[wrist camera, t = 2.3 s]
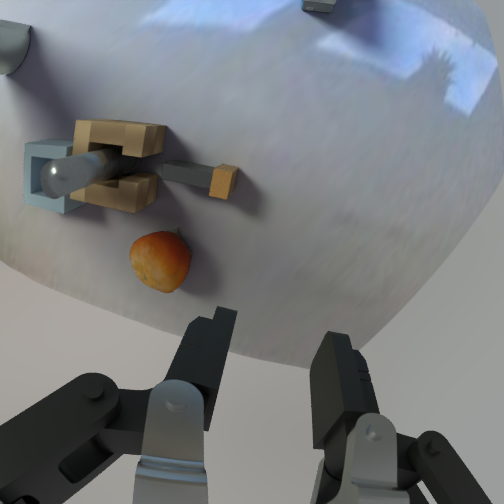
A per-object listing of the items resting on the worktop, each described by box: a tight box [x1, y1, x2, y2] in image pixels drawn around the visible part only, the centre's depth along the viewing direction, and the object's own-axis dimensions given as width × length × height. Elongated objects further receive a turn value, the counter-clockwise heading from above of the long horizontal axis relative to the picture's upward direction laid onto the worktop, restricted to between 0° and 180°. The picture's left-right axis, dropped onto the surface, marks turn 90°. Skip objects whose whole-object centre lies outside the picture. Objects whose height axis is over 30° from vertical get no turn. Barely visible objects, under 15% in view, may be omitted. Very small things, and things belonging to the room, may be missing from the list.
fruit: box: [130, 227, 192, 293], centre depth 37 cm, size 8×8×8 cm
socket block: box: [70, 119, 167, 213], centre depth 32 cm, size 10×10×6 cm
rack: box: [24, 139, 86, 214], centre depth 34 cm, size 9×9×6 cm
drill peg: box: [40, 146, 139, 199], centre depth 28 cm, size 4×4×15 cm
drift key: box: [161, 160, 238, 200], centre depth 33 cm, size 3×8×5 cm, turn 77°
